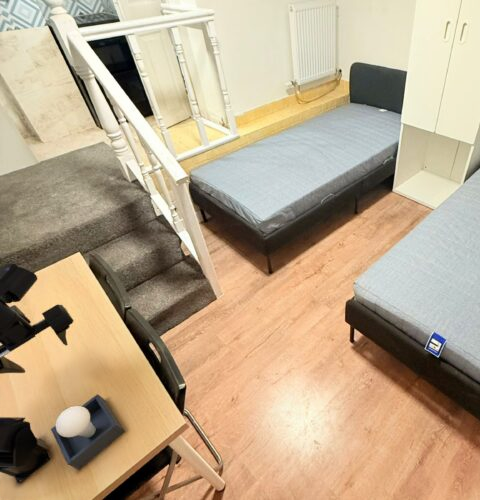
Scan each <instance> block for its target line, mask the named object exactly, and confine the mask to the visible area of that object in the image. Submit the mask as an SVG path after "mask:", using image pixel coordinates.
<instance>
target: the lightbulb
mask: <svg viewBox="0 0 480 500" xmlns="http://www.w3.org/2000/svg"><path fill="white" fill-rule="evenodd" d="M81 406H82V405H73V406H71V407H68V408H66V409H65V410H63V411H62V412H61V413H60V414H59V415H58V417H57V419H56V421H55V426H56V430H57V432H58V433H59V434H60V435H61V436H63V437H73V436H77V435H79V436H83V437H86V438H89V437H91V436H93V435H94V433H95V432H96V428H95V426H93V424H92V423H91V422H90V413H89V411H88V410H87V409H86V408H84V407H81Z"/></svg>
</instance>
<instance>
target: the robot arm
mask: <svg viewBox="0 0 480 500" xmlns="http://www.w3.org/2000/svg"><path fill="white" fill-rule="evenodd" d="M37 281H38V275H36V273H35V272H33V271H30V270H28V269H26V268H24V267H21V266H18V265H17V264H16V263H12V262H11V263H8V262H7V263H4V264H3V265H2V266H1V268H0V344H1V345H0V375H2V374H25V373H26V370H25V368H24V367H22V365H20V364H19V363H16V362H15V361H13V360H11V359H10V358H7V357H6V356H7V355H8V354H10V353H11V352H13V351H15V350H16V349H18V348H20V347H21V346H23V345H25V344H26V343H28V342H29V341H31V340H32V339H34V338H36V336H37V335H39V334H40V333H42V332H43V331H45V330H47V329H48V328H51V329H52V330H53V332H54V333H55V335H56V337H58V339H59V340H60V342H61V343H62V344H63V345H64V346H68V345H69V344H68V340H67V330H68V329H70V328H71V326H70V325H72V324H73V323H74V318H73V317H72V316H71V314H70V313H69V311H68V310H67V308H66V307H64V305H63V304H59V303H58V304H55V305H54V306H52V307H50V308H49V309H47V310H45V311H42V313H41V315H42V316H43V319H41V320H39V321H37V322H35V323H34V324H32V321H31V320H30V319H29V317H27V316H26V315H25V313H24V312H23V311H22V310H21V309H20V308H19V307H18V306H17V305H15V304H14V305H11V306H10V305H9V304H12V303H19V302H21V301H22V299H23V298H24V297H25V296H26V295H27V293H28V292H29V291H30V289H31V288H32V287H33V286H34V285H35V283H36V282H37ZM25 419H26V417H17V416H16V417H15V416H13V417H12V416H9V417H8V416H0V473H1V474H4V475H7V476H10V477H12V478H13V477H14V479H15V482H16V484H19V485H20V484H22V483H23V482H25V481H26V480H27V479H29V477H31V476H32V475H34V473H36V472H37V471H38V470H40V469H41V468H42V467H44V465H46V464H47V463H48V462H50V460H51V456H50V453H49V447H48V445H47V443H46V441H44V440H43V439H42V438H38V437H36V436H35V434H34V432H33V430H32V428H31V427H32V426H31V422H29V421H27V420H25Z"/></svg>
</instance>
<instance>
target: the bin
mask: <svg viewBox="0 0 480 500" xmlns="http://www.w3.org/2000/svg"><path fill="white" fill-rule="evenodd" d="M80 406H81V407H84V408H86V409H87V410H88V411H89V413H90V422H91V423H92V424H93V426H95V428H96V432H95V433H94V435H93V436H91V437H89V438H86V437H83V436H79V435H77V436H73V437H63V436H61V435H60V434H59V433H58V432H57V430H56V425H54V426H53V427H51V428H50V430H51V433H52V435H53V437H54V439H55V441H56V444H57V445H58V448H59V449H60V452H61V454H62V456H63V458H64V460H65V462H66V464H67V465H68V466H70V467H72V468H74V469H75V470H78V471H81V470H82V469H83V468H84V467H85V466H86V465H88V463H90V462H91V461H92V460H93V459H94V458H96V457H97V456H98V455H99V454H100V453H101V452H103V451H104V450H105V449H107V447H109V446H110V445H111V444H112V443H113V442H115V441H116V440H117V439H118V438H119V437H121V436H122V435H123V434H124V433H125V432H126V430H125V428H124V427H123V425H122V423H121V422H120V420H119V419H118V417H117V415H116V414H115V412H114V410H113V408H111V406H110V404H109V403H108V401H107V400H106V399H104V397H102V396H101V395H99V394H98V393H96V394H95V395H94V396H92V397H91V398H90V399H89V400H88V401H86V402H85V403H83V404H82V405H80Z"/></svg>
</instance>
